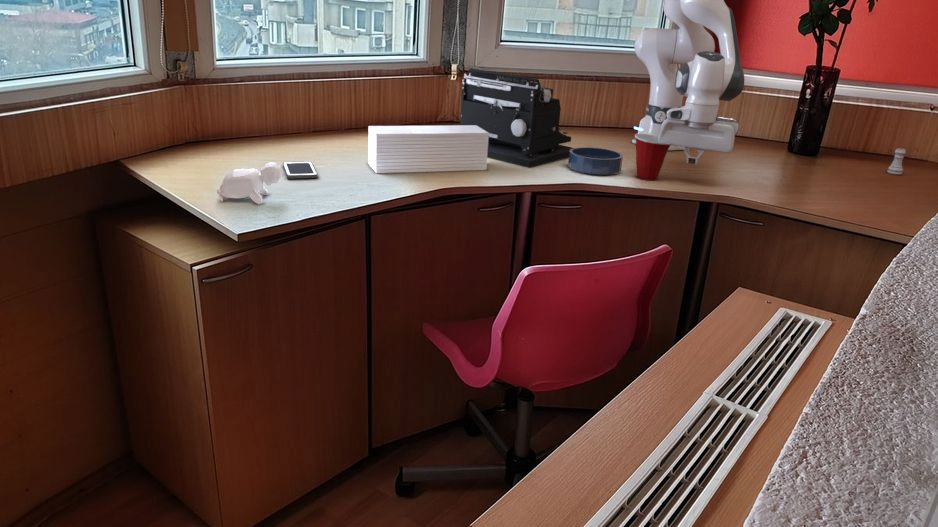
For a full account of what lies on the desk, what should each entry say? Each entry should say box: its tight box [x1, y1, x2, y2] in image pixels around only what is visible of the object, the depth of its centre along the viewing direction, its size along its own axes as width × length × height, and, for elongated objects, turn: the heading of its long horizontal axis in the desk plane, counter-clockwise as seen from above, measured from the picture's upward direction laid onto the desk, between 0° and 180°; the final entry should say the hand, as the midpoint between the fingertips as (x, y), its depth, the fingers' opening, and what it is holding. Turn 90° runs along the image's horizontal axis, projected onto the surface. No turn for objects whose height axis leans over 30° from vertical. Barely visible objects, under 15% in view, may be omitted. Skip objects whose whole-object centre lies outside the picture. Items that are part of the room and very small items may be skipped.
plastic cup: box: [634, 133, 670, 181], centre depth 205 cm, size 11×11×12 cm
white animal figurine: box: [215, 161, 284, 205], centre depth 166 cm, size 9×8×15 cm
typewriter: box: [459, 67, 574, 169], centre depth 225 cm, size 31×27×25 cm
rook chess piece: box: [886, 147, 907, 176], centre depth 230 cm, size 4×4×8 cm
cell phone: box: [282, 160, 318, 180], centre depth 191 cm, size 8×15×1 cm, turn 18°
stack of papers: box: [367, 124, 489, 174], centre depth 202 cm, size 32×11×11 cm, turn 109°
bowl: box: [567, 146, 624, 176], centre depth 212 cm, size 16×16×5 cm
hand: (691, 163), depth 201 cm, fingers closed
